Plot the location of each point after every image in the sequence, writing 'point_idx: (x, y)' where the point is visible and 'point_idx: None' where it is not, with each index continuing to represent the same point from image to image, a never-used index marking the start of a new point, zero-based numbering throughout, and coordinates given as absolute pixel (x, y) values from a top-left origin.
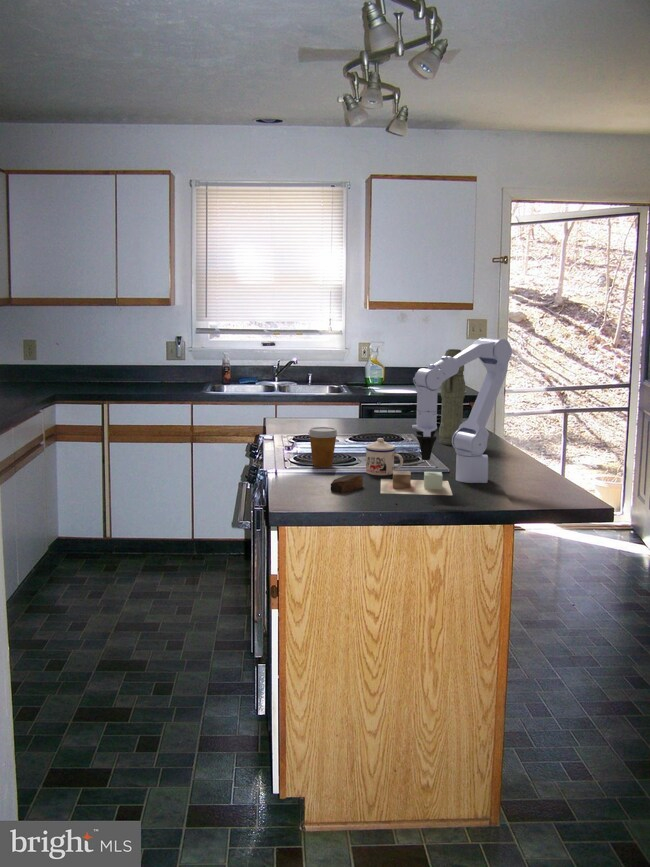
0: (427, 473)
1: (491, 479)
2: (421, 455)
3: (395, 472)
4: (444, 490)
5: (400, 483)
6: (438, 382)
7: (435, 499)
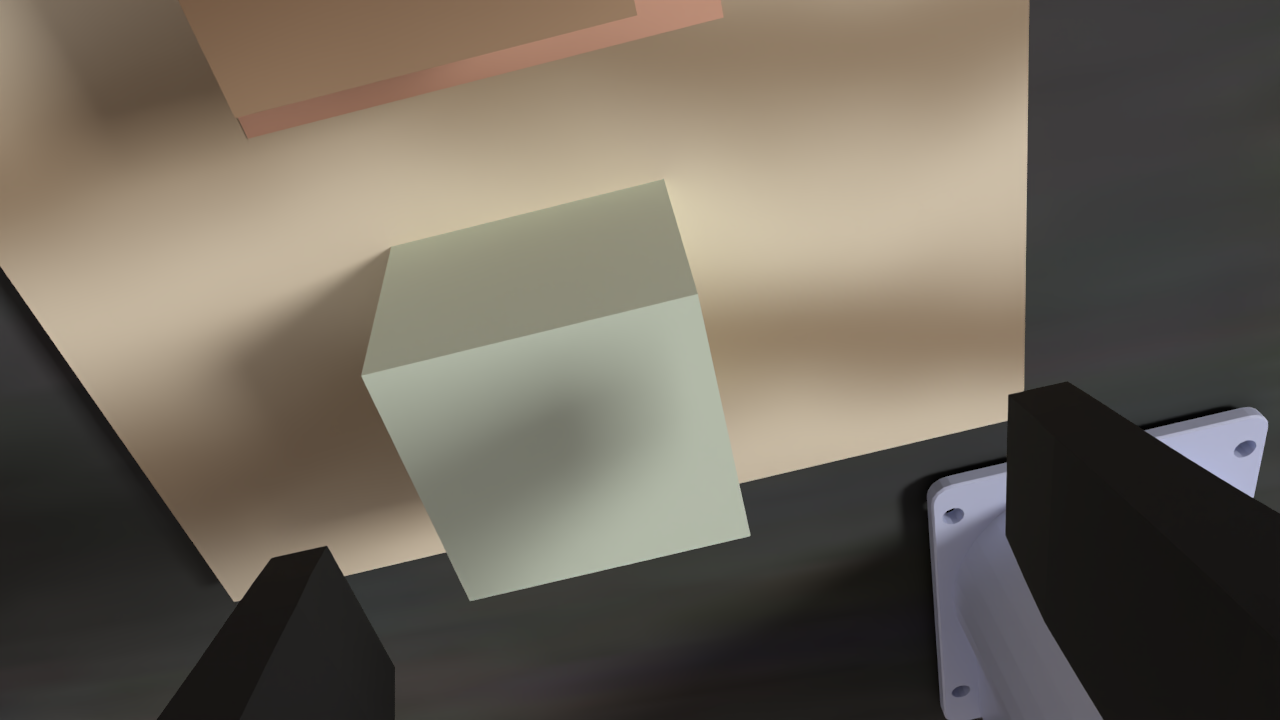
0: (553, 378)
1: None
2: (207, 649)
3: None
4: None
5: None
6: None
7: (88, 424)
